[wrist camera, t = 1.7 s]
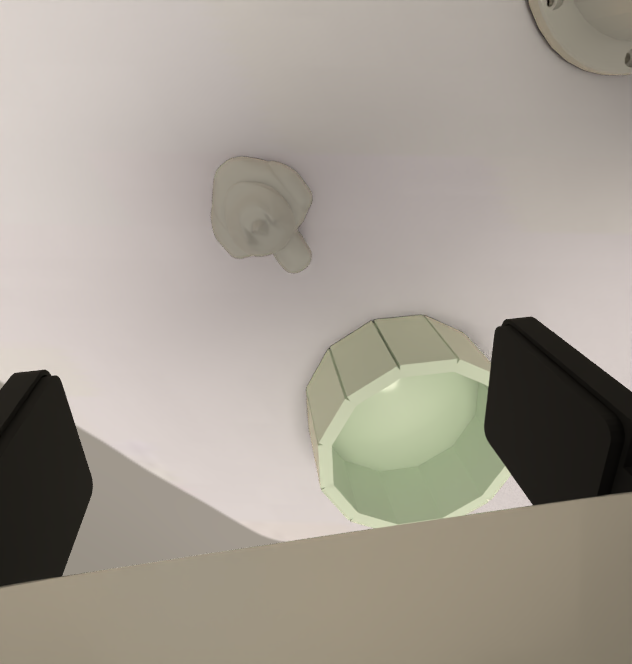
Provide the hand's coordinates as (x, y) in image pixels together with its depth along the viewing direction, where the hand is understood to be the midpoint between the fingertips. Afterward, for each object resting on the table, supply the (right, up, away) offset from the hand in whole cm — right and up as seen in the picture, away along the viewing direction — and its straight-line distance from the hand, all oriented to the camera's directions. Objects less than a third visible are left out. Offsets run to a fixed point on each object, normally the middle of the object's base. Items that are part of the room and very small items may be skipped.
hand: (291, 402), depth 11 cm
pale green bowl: (+6, -3, +24) cm, 25 cm away
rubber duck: (-2, +9, +18) cm, 20 cm away
